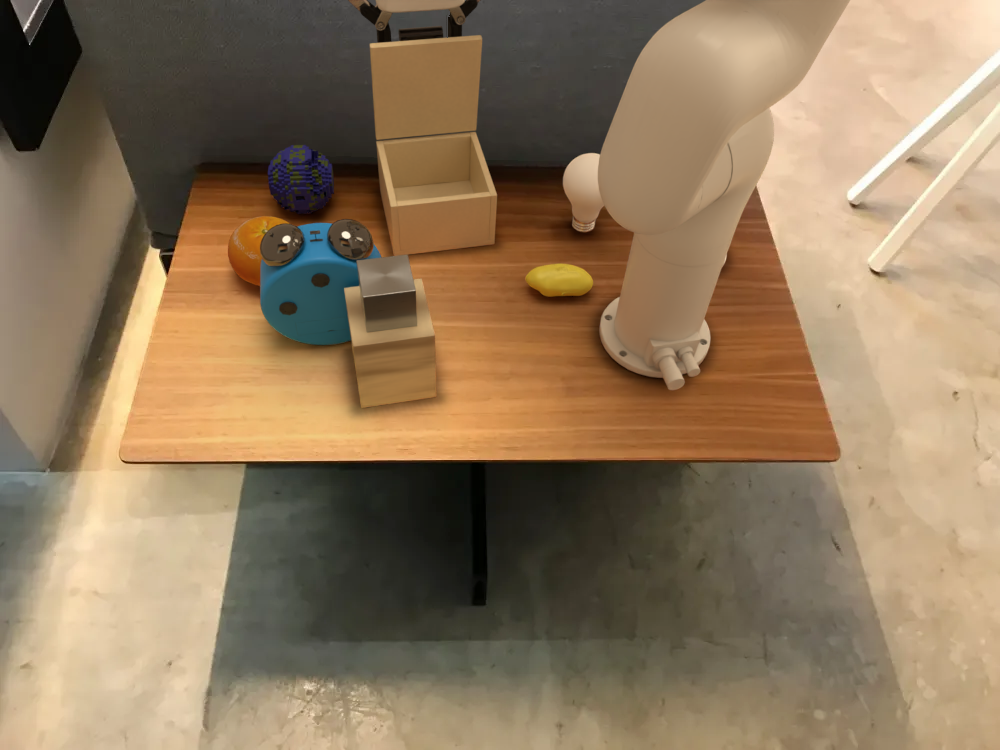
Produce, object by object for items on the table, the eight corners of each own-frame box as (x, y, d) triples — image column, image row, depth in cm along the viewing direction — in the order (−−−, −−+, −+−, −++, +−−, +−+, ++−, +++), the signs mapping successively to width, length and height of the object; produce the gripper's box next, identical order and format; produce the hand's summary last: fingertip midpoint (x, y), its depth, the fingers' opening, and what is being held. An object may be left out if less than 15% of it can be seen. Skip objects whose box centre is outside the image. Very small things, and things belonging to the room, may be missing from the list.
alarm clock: (386, 303, 99) (377, 202, 88) (390, 343, 96) (382, 243, 84) (271, 313, 98) (247, 212, 86) (271, 354, 94) (246, 254, 82)
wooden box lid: (482, 39, 96) (473, 11, 99) (370, 47, 94) (364, 19, 96) (476, 130, 107) (468, 103, 110) (376, 140, 105) (370, 112, 108)
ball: (276, 183, 112) (267, 134, 106) (336, 181, 113) (329, 132, 107) (273, 224, 107) (263, 175, 101) (335, 222, 108) (328, 173, 102)
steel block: (417, 326, 84) (415, 290, 80) (366, 332, 83) (362, 297, 79) (409, 290, 87) (407, 254, 83) (360, 296, 86) (356, 260, 82)
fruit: (317, 274, 97) (278, 212, 93) (251, 309, 97) (210, 250, 94) (317, 253, 104) (281, 195, 101) (256, 286, 105) (218, 230, 101)
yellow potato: (590, 307, 101) (595, 283, 98) (523, 300, 101) (525, 276, 98) (591, 281, 103) (595, 258, 100) (525, 275, 103) (528, 251, 100)
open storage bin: (494, 244, 107) (497, 195, 100) (393, 256, 104) (390, 206, 98) (474, 180, 114) (475, 131, 108) (380, 190, 112) (376, 140, 106)
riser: (436, 397, 91) (435, 335, 83) (361, 408, 90) (352, 346, 82) (423, 341, 96) (421, 278, 88) (352, 351, 95) (343, 287, 87)
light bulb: (547, 233, 108) (555, 163, 100) (572, 205, 112) (582, 134, 103) (593, 254, 106) (606, 184, 98) (617, 225, 110) (631, 154, 101)
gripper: (334, -85, 84) (350, 76, 98) (505, -94, 87) (497, 64, 101) (326, -117, 89) (343, 42, 103) (490, -124, 92) (484, 31, 106)
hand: (420, 52), depth 102 cm, fingers open, 7 cm apart
